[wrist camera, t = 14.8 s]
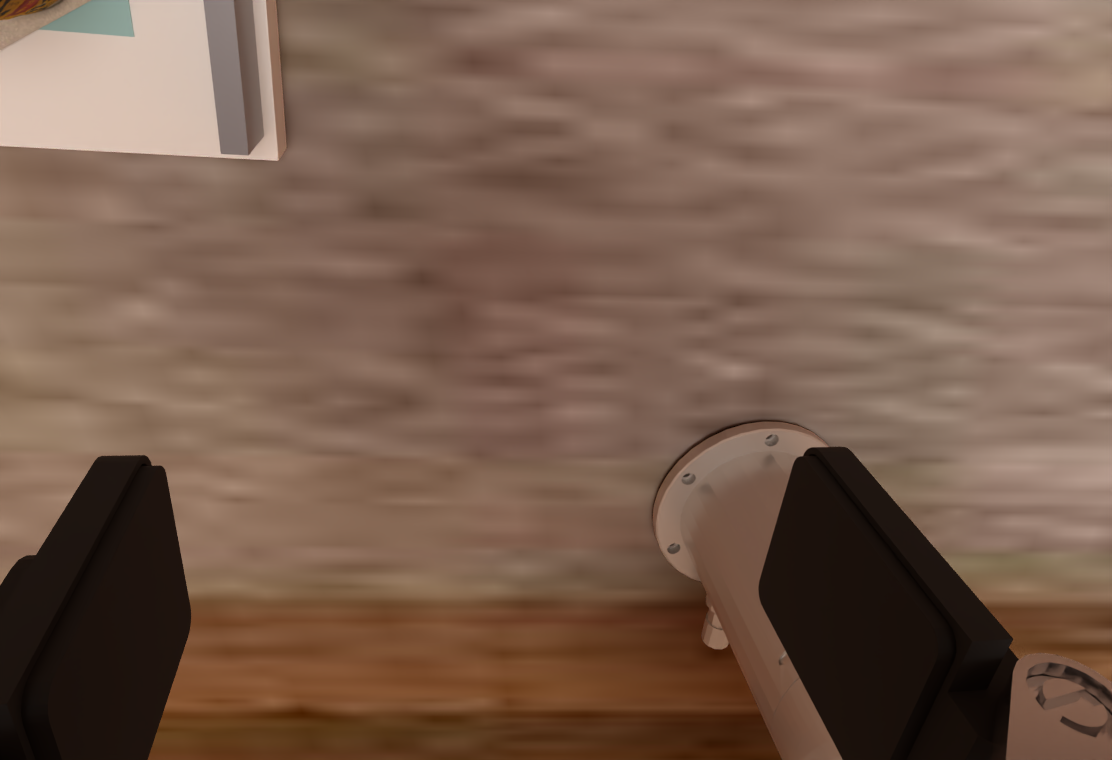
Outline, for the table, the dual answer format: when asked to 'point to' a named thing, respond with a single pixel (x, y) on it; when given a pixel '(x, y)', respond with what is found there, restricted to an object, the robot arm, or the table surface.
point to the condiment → (30, 16)
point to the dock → (149, 80)
